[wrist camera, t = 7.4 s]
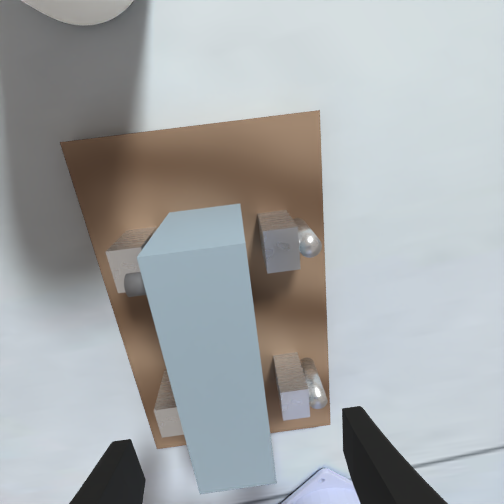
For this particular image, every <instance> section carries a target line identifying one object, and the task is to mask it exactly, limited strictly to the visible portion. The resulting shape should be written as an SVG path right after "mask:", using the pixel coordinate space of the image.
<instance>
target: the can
mask: <svg viewBox="0 0 504 504" xmlns="http://www.w3.org/2000/svg"><path fill="white" fill-rule="evenodd" d="M21 1H22V2H24V3H26V4H27V5H29V6H31V7H33V8H34V9H36V10H38V11H40V12H41V13H43V14H45V15H47V16H49V17H51V18H53V19H56V20H58V21H61V22H64V23H68V24H73V25H96V24H100V23H104V22H106V21H109V20H111V19H113V18H115V17H116V16H118V15H119V14H121V13H122V12H123V11H125V10H126V9H127V8H128V7H129V6H130V5H131V3H132V2H133V1H134V0H21Z"/></svg>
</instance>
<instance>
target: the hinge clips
mask: <svg viewBox="0 0 504 504" xmlns="http://www.w3.org/2000/svg"><path fill="white" fill-rule="evenodd" d="M257 215H258V224H259V233H260V242H261V250H262V254H263V258H264V262H265V266H266V270H267V274H269V273H276V272H284V271H291V270H299V269H301V268H300V253H301V254H302V255H303V256H305V257H307V258H312V257H315V256H317V255H318V254H319V253H320V251H321V249H322V243H321V241H320V240H319V238H318V237H317V236H316V235H315V233H314V232H313V231H312V230H311V228H310V227H309V226H308V225H307V223H306V222H305V221H304V220H303V219H301V218H295V219H292V218H291V216H290V215H289V213H288V212H287V210H283V211H275V212H267V213H259V214H257ZM156 230H157V228H156V227H150V228H142V229H135V230H127V231H126V232H125V233H124V234H123V235H122V236H121V237H120V238H119V239H118V240H117V241H116V242H115V243H114V244H113V245H112V246H111V247H110V248H109V249H108V250H107V251H106V255H107V259H108V262H109V265H110V269H111V272H112V275H113V278H114V282H115V285H116V288H117V292H118V293H124V292H125V289H124V277H125V275H126V274H127V273H134V272H140V268H139V264H138V261H137V256H138V255H139V253H140V252H141V251H142V249H143V248H144V247H145V245H146V244H147V242H148V241H149V240H150V238H151V237H152V235H153V234H154V233H155V231H156ZM299 251H300V252H299ZM273 358H274V367H275V376H276V384H277V389H278V395H279V400H280V406H281V411H282V417H283V421H285V420H292V419H299V418H306V417H310V406H311V407H312V408H314V409H321V408H323V407H325V406H326V404H327V402H328V400H327V397H326V394H325V391H324V389H323V386H322V383H321V380H320V377H319V375H318V372H317V369H316V366H315V364H314V361H313V360H312V359H311V358H303V359H301V360H300V359H299V356H298V353H297V352H295V353H287V354H280V355H273ZM309 404H310V406H309ZM154 413H155V417H156V420H157V423H158V426H159V430H160V433H161V436H162V438H163V437H171V436H178V435H184V432H183V429H182V425H181V421H180V417H179V414H178V410H177V406H176V403H175V399H174V395H173V391H172V388H171V384H170V380H169V376H168V373H167V370H164V374H163V378H162V382H161V385H160V389H159V393H158V396H157V400H156V404H155V407H154Z"/></svg>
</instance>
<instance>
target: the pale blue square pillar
mask: <svg viewBox="0 0 504 504" xmlns="http://www.w3.org/2000/svg"><path fill="white" fill-rule="evenodd" d="M137 261H138V264H139V268H140V272H134V273H127V274H126V275H125V277H124V289H125V292H126V294H127V296H128V297H134V296H142V295H147V298H148V302H149V305H150V309H151V313H152V317H153V320H154V324H155V328H156V332H157V335H158V339H159V343H160V346H161V350H162V354H163V358H164V361H165V365H166V369H167V373H168V376H169V380H170V384H171V388H172V391H173V395H174V399H175V403H176V406H177V410H178V414H179V417H180V421H181V425H182V429H183V432H184V436H185V440H186V444H187V447H188V451H189V455H190V459H191V462H192V466H193V470H194V474H195V477H196V481H197V485H198V489H199V492H200V494H206V493H213V492H220V491H227V490H234V489H241V488H248V487H255V486H262V485H269V484H276V483H277V482H276V474H275V466H274V458H273V451H272V443H271V435H270V428H269V420H268V412H267V405H266V397H265V389H264V382H263V374H262V366H261V359H260V351H259V343H258V336H257V328H256V320H255V313H254V305H253V297H252V290H251V282H250V274H249V267H248V259H247V251H246V244H245V236H244V229H243V221H242V213H241V206H240V204H232V205H224V206H216V207H209V208H201V209H193V210H185V211H177V212H169V213H168V215H167V216H166V218H165V219H164V220H163V222H162V223H161V224H160V226H159V227H158V229H157V230H156V231H155V233H154V234H153V235H152V237H151V238H150V240H149V241H148V242H147V244H146V245H145V247H144V248H143V249H142V251H141V252H140V253H139V255H138V256H137Z"/></svg>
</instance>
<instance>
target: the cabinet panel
mask: <svg viewBox="0 0 504 504" xmlns="http://www.w3.org/2000/svg"><path fill="white" fill-rule="evenodd" d="M60 144H61V147H62V151H63V154H64V157H65V160H66V163H67V166H68V169H69V173H70V176H71V179H72V182H73V185H74V188H75V192H76V195H77V198H78V201H79V204H80V207H81V210H82V214H83V217H84V220H85V223H86V226H87V229H88V233H89V236H90V239H91V242H92V245H93V248H94V251H95V255H96V258H97V261H98V264H99V267H100V270H101V274H102V277H103V280H104V283H105V286H106V289H107V292H108V296H109V299H110V302H111V305H112V308H113V311H114V314H115V318H116V321H117V324H118V327H119V330H120V333H121V337H122V340H123V343H124V346H125V349H126V352H127V355H128V359H129V362H130V365H131V368H132V371H133V374H134V378H135V381H136V384H137V387H138V390H139V393H140V396H141V400H142V403H143V406H144V409H145V412H146V415H147V418H148V422H149V425H150V428H151V431H152V434H153V437H154V441H155V444H156V447H157V449H161V448H168V447H175V446H182V445H187V444H186V440H185V436H184V435H178V436H171V437H163V438H162V436H161V433H160V430H159V426H158V423H157V420H156V417H155V413H154V407H155V404H156V400H157V396H158V393H159V389H160V385H161V382H162V378H163V374H164V370H167V369H166V365H165V361H164V358H163V354H162V350H161V346H160V343H159V339H158V335H157V332H156V328H155V324H154V320H153V317H152V313H151V309H150V305H149V302H148V298H147V295H142V296H134V297H128V296H127V294H126V292H124V293H118V292H117V288H116V285H115V282H114V278H113V275H112V272H111V269H110V265H109V262H108V259H107V255H106V251H107V250H108V249H109V248H110V247H111V246H112V245H113V244H114V243H115V242H116V241H117V240H118V239H119V238H120V237H121V236H122V235H123V234H124V233H125V232H126V231H127V230H135V229H142V228H150V227H156V228H157V229H158V227H159V226H160V224H161V223H162V222H163V220H164V219H165V218H166V216H167V215H168V213H169V212H177V211H185V210H193V209H201V208H209V207H216V206H224V205H232V204H240V206H241V213H242V221H243V229H244V236H245V244H246V251H247V259H248V267H249V274H250V282H251V290H252V297H253V305H254V313H255V320H256V328H257V336H258V343H259V351H260V359H261V366H262V374H263V382H264V389H265V397H266V405H267V412H268V420H269V428H270V433H275V432H282V431H289V430H296V429H303V428H310V427H317V426H324V425H330V398H329V369H328V340H327V310H326V281H325V252H324V222H323V193H322V163H321V134H320V110H318V111H310V112H302V113H294V114H286V115H278V116H269V117H261V118H253V119H245V120H237V121H229V122H221V123H213V124H204V125H196V126H188V127H180V128H172V129H164V130H156V131H148V132H139V133H131V134H123V135H115V136H107V137H99V138H91V139H83V140H74V141H66V142H60ZM283 210H287V212H288V213H289V215H290V216H291V218H292V219H295V218H301V219H303V220H304V221H305V222H306V223H307V225H308V226H309V227H310V228H311V230H312V231H313V232H314V233H315V235H316V236H317V237H318V238H319V240H320V241H321V243H322V249H321V251H320V253H319V254H318V255H317V256H315V257H312V258H307V257H305V256H303V255H302V254H301V253H300V268H301V269H299V270H291V271H284V272H276V273H269V274H267V270H266V266H265V262H264V258H263V254H262V250H261V242H260V233H259V224H258V215H257V214H259V213H267V212H275V211H283ZM299 252H300V251H299ZM295 352H297V353H298V356H299V359H300V360H301V359H303V358H311V359H312V360H313V361H314V364H315V366H316V369H317V372H318V375H319V377H320V380H321V383H322V386H323V389H324V391H325V394H326V397H327V400H328V402H327V404H326V406H325V407H323V408H321V409H314V408H312V407H311V406H310V404H309V406H310V417H306V418H299V419H292V420H285V421H283V417H282V411H281V406H280V400H279V395H278V389H277V384H276V376H275V367H274V358H273V355H280V354H287V353H295Z"/></svg>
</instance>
